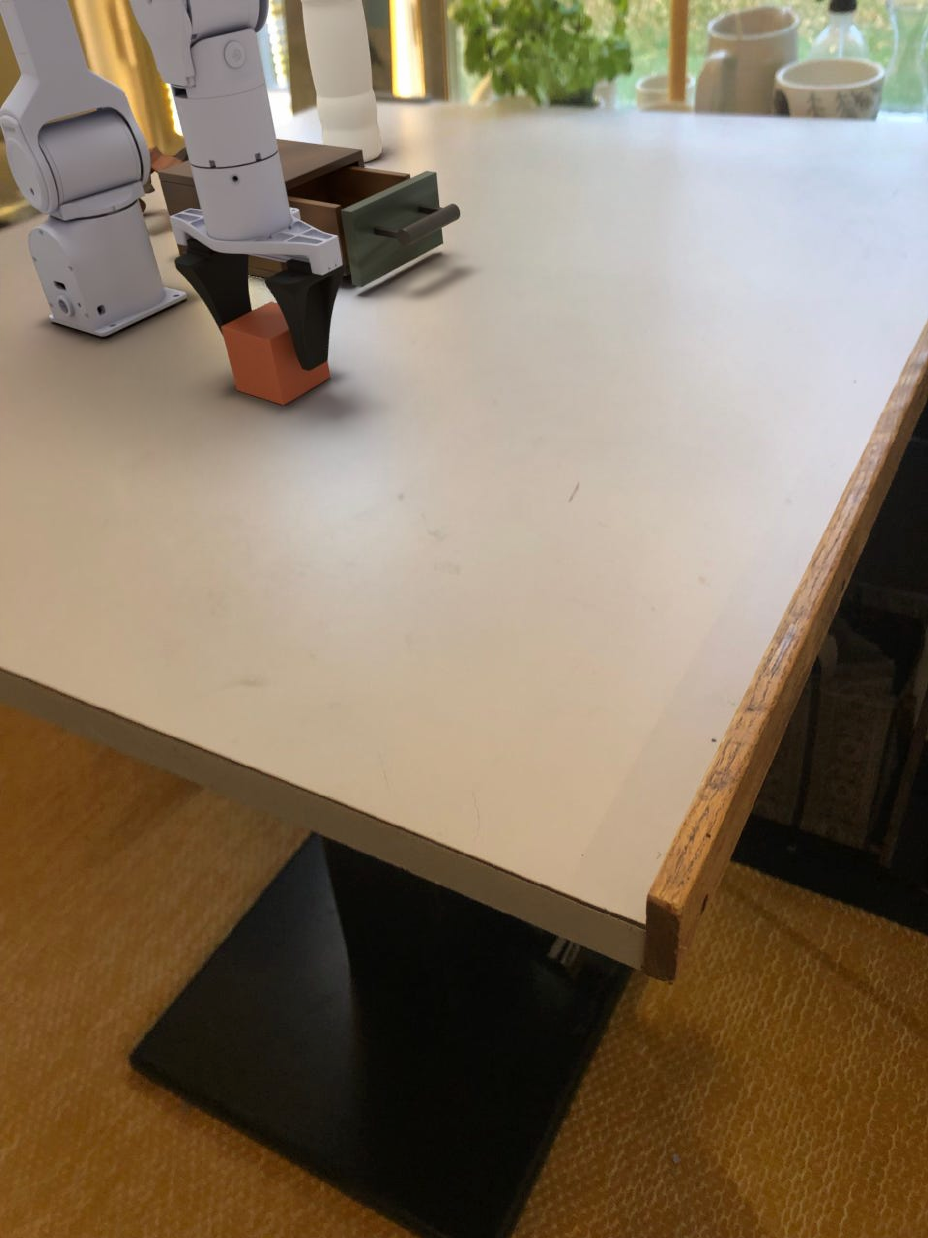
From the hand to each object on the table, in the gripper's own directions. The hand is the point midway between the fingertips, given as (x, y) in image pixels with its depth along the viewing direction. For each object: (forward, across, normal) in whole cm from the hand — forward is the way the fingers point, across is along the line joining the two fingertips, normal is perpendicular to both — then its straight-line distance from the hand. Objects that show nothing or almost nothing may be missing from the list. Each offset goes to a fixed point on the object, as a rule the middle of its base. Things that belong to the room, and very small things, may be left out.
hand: (277, 354), depth 71 cm
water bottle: (+2, +36, -48) cm, 60 cm away
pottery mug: (+2, +40, -23) cm, 46 cm away
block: (+2, 0, 0) cm, 2 cm away
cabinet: (+2, +22, -21) cm, 31 cm away
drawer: (+1, +10, -21) cm, 23 cm away
